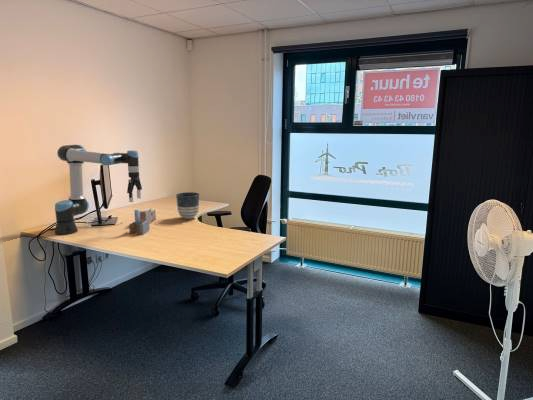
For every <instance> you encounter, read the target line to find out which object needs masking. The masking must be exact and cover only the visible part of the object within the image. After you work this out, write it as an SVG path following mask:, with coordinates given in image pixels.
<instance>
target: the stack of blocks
mask: <svg viewBox="0 0 533 400" xmlns="http://www.w3.org/2000/svg"><path fill="white" fill-rule="evenodd" d="M139 210H140V222H144V221H146V220H149V225H151V224H152V223H153V222H155V221H156V220H157V219H156V218H157V214H156V209H152V208H150V207H148V208H145V207H144V208H142V209H139Z"/></svg>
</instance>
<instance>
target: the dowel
mask: <svg viewBox="0 0 533 400" xmlns="http://www.w3.org/2000/svg"><path fill="white" fill-rule="evenodd" d="M140 210H141V209H135V210H134V211H133V212H134V222H135V225H140Z"/></svg>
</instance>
